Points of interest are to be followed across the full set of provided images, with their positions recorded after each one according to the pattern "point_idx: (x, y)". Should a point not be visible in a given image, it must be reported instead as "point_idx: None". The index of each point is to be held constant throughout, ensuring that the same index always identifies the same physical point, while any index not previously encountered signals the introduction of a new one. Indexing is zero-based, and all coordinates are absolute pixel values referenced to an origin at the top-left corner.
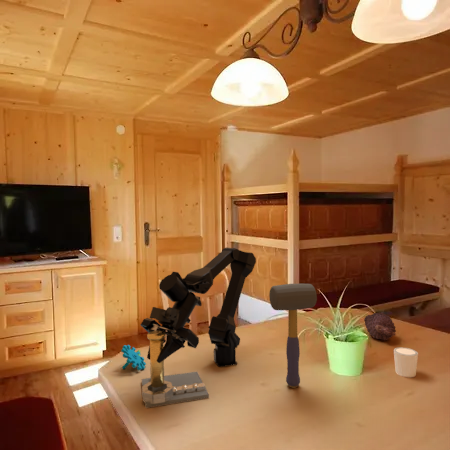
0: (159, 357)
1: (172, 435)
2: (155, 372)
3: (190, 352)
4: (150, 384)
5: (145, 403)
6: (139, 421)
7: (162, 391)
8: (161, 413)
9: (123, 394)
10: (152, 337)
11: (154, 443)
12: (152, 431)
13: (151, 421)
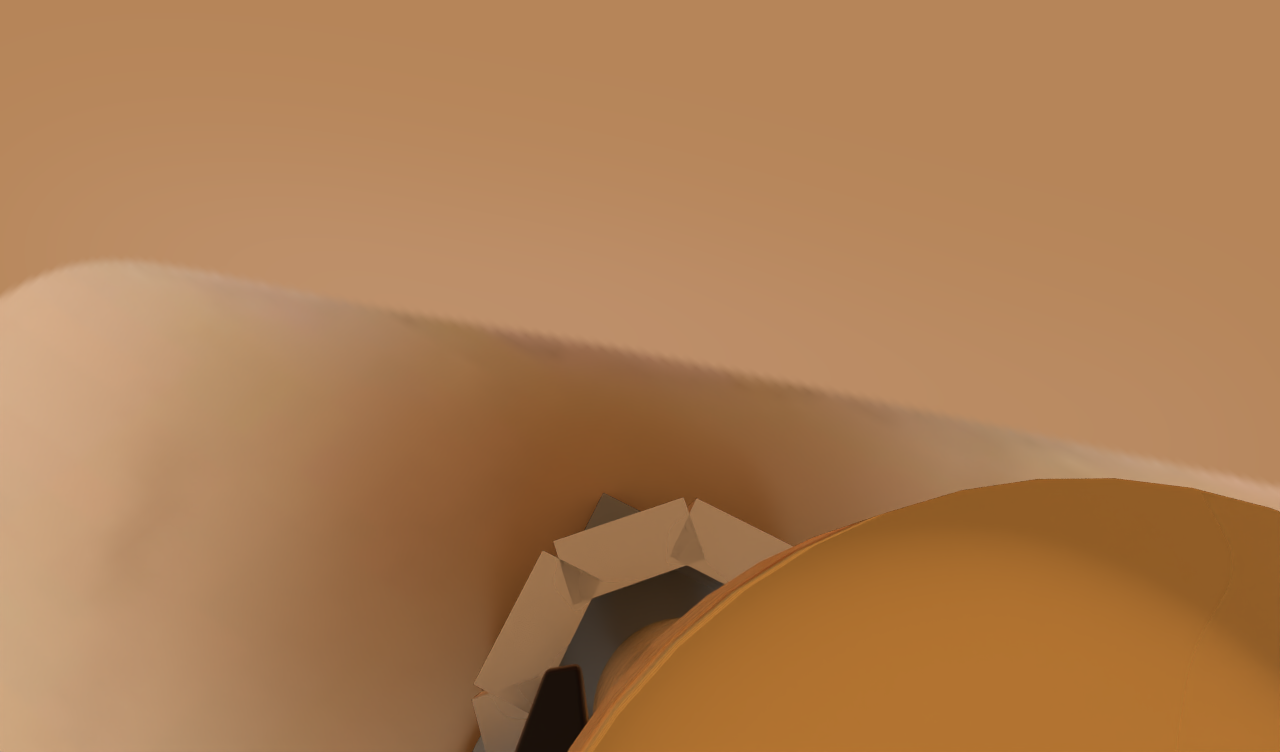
0: (534, 735)
1: (30, 429)
2: (633, 651)
3: None
4: None
5: (615, 499)
6: (444, 340)
7: (531, 687)
8: (400, 560)
9: (993, 472)
10: (750, 575)
11: (78, 265)
12: (226, 340)
13: (360, 415)
